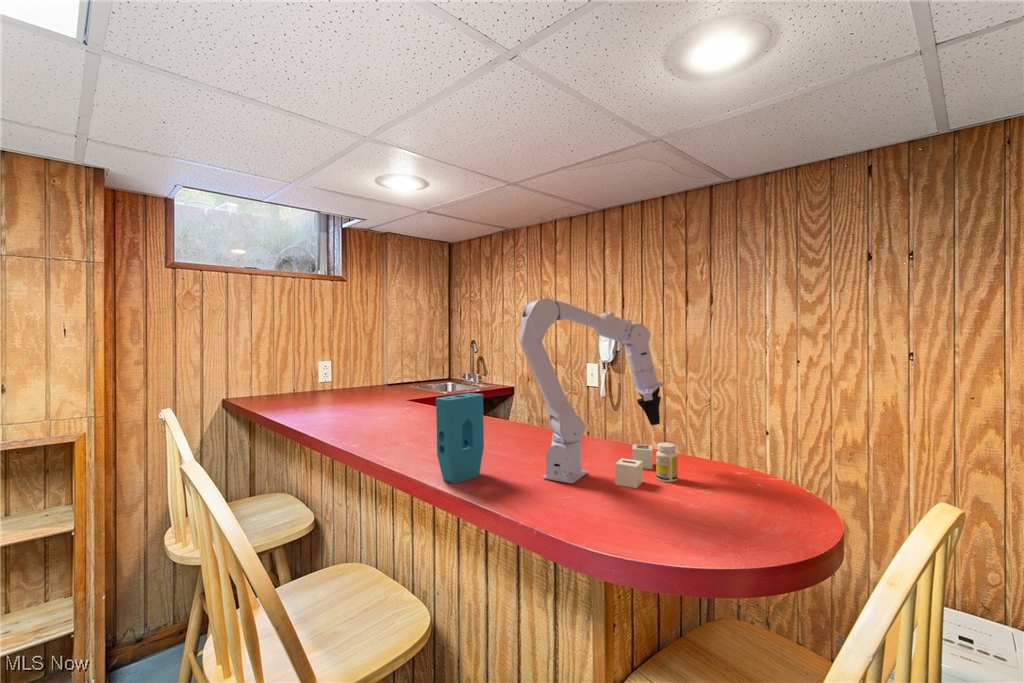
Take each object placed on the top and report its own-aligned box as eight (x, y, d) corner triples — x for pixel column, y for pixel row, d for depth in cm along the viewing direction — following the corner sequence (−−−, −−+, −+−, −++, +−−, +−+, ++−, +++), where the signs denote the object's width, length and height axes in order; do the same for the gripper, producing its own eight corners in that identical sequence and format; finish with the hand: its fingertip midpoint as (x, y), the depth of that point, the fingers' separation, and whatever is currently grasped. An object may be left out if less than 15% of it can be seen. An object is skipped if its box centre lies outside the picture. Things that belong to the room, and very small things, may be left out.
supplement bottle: (672, 475, 112) (672, 441, 112) (680, 482, 108) (680, 446, 107) (653, 476, 112) (653, 442, 112) (660, 482, 108) (660, 447, 107)
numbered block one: (636, 488, 104) (636, 465, 104) (615, 484, 107) (615, 462, 107) (642, 482, 109) (642, 460, 108) (621, 478, 111) (621, 457, 111)
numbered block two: (652, 469, 118) (652, 449, 118) (632, 468, 119) (632, 448, 119) (652, 464, 123) (652, 444, 123) (633, 462, 124) (633, 443, 124)
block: (449, 485, 107) (448, 400, 107) (435, 481, 111) (434, 398, 110) (485, 473, 116) (484, 394, 116) (472, 469, 119) (471, 392, 119)
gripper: (659, 372, 109) (672, 426, 111) (657, 360, 123) (669, 408, 124) (629, 378, 112) (643, 431, 113) (631, 365, 125) (643, 412, 126)
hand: (655, 419), depth 119 cm, fingers open, 7 cm apart
